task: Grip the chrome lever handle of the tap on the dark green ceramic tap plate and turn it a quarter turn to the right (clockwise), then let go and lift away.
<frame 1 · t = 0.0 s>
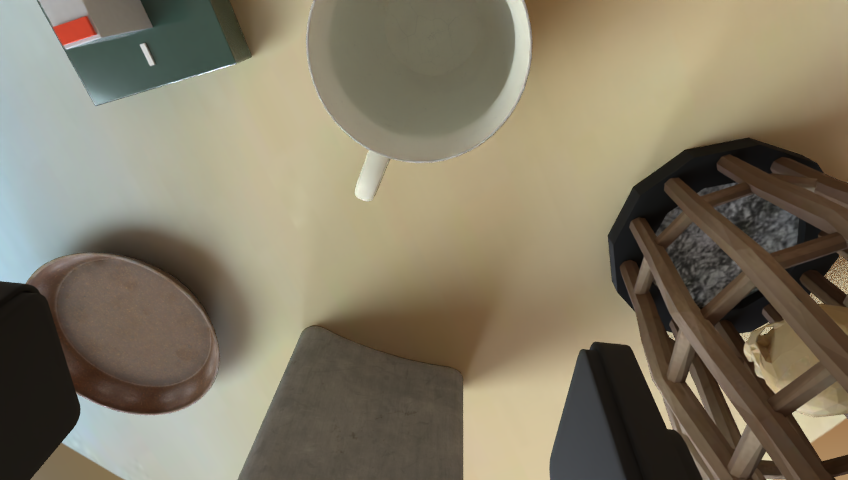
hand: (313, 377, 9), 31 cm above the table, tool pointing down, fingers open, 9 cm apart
plant saucer: (139, 320, 49), on the table
pitcher: (426, 39, 36), on the table
lantern: (714, 240, 42), on the table
hip flask: (381, 362, 50), on the table
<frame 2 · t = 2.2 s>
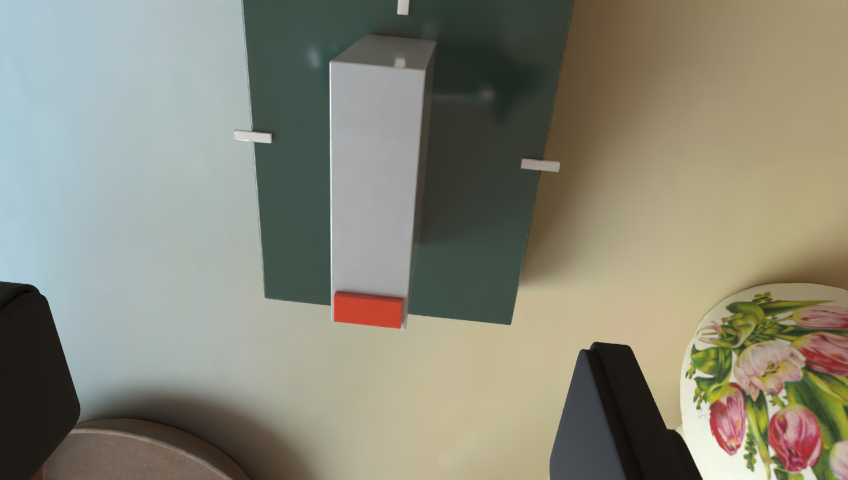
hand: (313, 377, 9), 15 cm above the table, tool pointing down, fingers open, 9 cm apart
pitcher: (742, 347, 27), on the table
tap plate: (404, 127, 22), on the table
tap handle: (385, 178, 17), point 6 cm above the table, hinge at 0.0°
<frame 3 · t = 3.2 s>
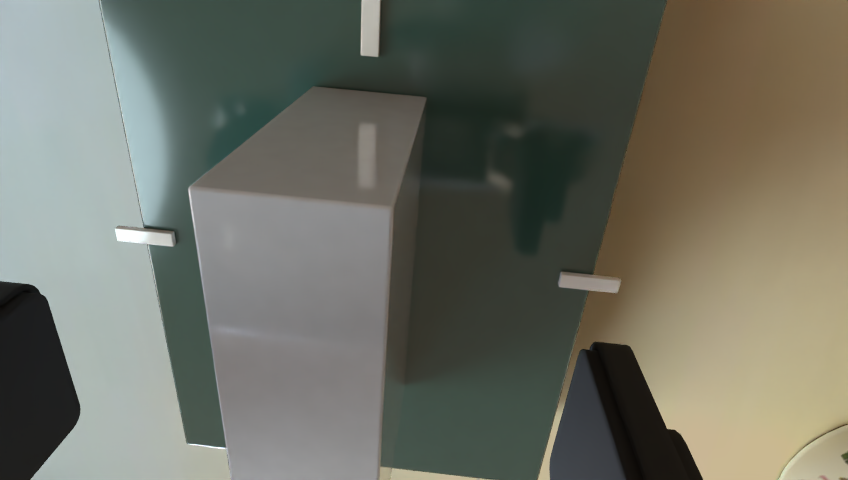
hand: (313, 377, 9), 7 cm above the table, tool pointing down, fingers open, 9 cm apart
tap plate: (382, 206, 15), on the table
tap handle: (339, 332, 10), point 6 cm above the table, hinge at 0.0°
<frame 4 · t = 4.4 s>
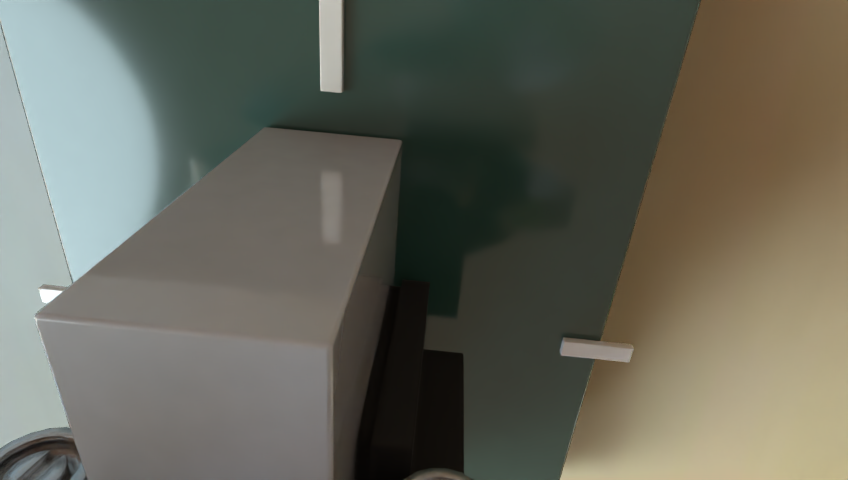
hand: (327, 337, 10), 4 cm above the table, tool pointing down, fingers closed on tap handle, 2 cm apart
tap plate: (359, 251, 14), on the table
tap handle: (294, 431, 8), point 6 cm above the table, hinge at 0.0°, touching gripper
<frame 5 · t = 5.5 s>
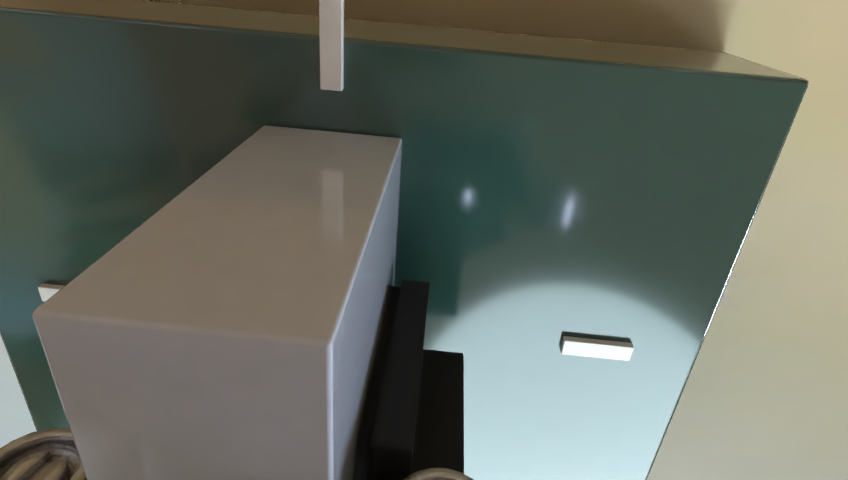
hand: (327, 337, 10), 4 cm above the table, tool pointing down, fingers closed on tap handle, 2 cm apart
tap plate: (359, 249, 14), on the table
tap handle: (294, 429, 8), point 6 cm above the table, hinge at -90.0°, touching gripper
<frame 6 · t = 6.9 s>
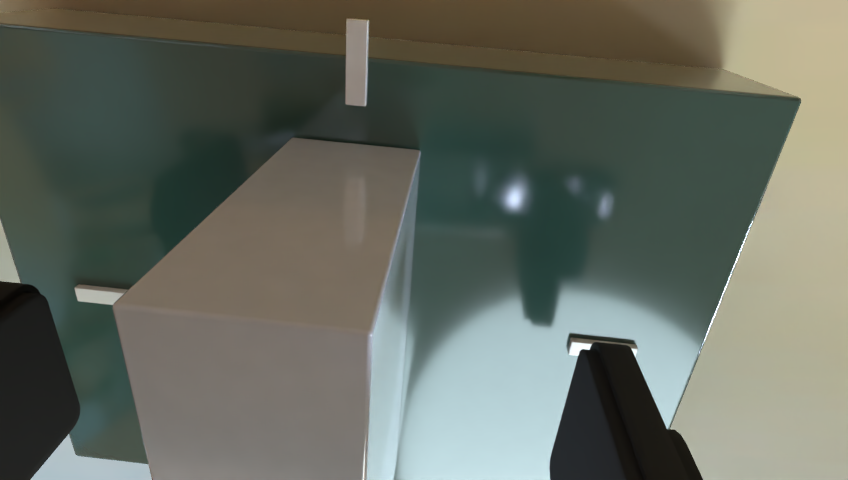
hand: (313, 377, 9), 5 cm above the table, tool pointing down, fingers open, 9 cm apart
tap plate: (374, 254, 14), on the table
tap handle: (319, 421, 9), point 6 cm above the table, hinge at -90.0°
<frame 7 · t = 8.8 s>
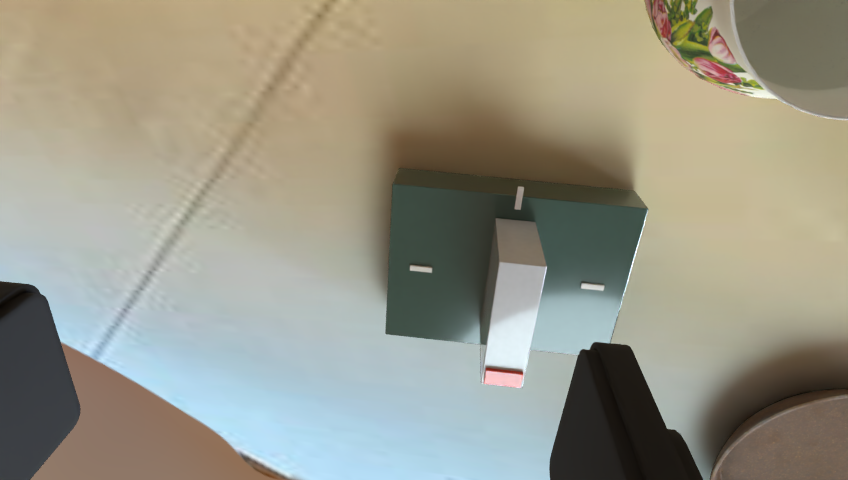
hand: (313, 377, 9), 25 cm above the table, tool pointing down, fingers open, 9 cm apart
plant saucer: (812, 454, 42), on the table
tap plate: (503, 254, 36), on the table
tap handle: (508, 302, 31), point 6 cm above the table, hinge at -90.0°
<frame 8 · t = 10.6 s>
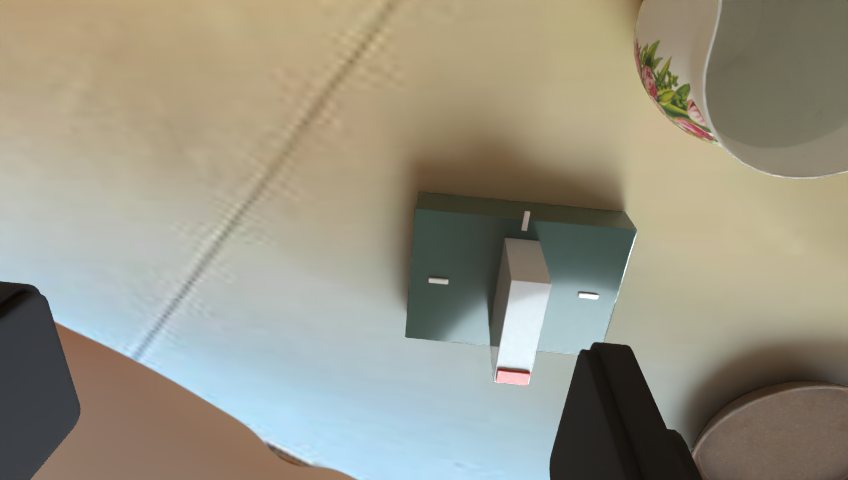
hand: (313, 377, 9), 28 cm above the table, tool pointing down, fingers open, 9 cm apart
plant saucer: (778, 437, 47), on the table
pitcher: (711, 32, 32), on the table
tap plate: (509, 266, 41), on the table
tap handle: (516, 311, 35), point 6 cm above the table, hinge at -90.0°
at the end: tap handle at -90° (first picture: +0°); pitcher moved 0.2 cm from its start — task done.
